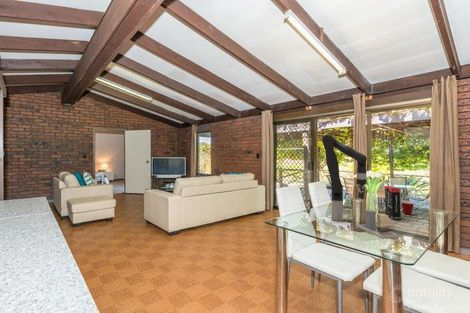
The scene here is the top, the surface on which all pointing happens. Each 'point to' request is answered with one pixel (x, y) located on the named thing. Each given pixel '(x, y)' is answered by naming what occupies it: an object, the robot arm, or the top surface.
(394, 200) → the graphics card box
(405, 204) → the plastic cup
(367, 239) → the pad
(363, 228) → the parts tray
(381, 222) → the banded wooden block
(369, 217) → the slate box
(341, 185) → the robot arm
